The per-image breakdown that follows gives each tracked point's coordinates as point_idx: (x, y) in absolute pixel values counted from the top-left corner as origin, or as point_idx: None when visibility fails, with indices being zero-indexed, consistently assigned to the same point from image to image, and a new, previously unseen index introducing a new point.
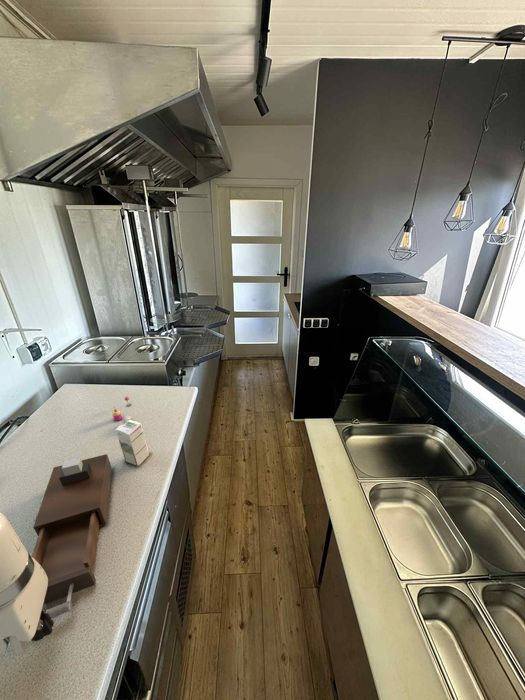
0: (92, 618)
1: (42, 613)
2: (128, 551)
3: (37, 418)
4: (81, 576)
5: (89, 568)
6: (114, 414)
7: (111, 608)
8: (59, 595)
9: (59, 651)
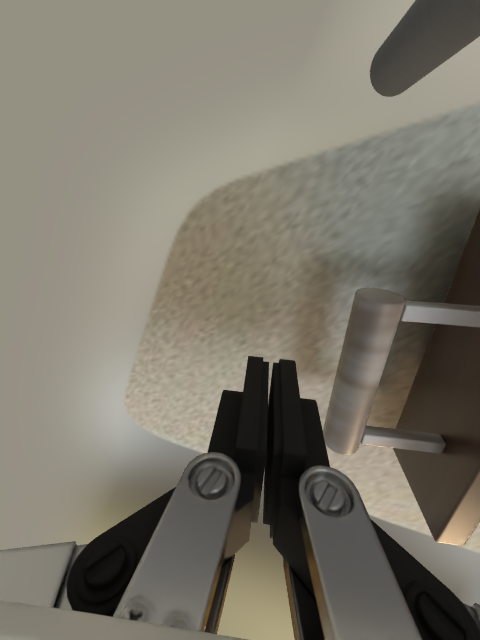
0: None
1: (284, 561)
2: None
3: None
4: (440, 505)
5: (452, 543)
6: None
7: None
8: (437, 358)
9: (242, 342)
